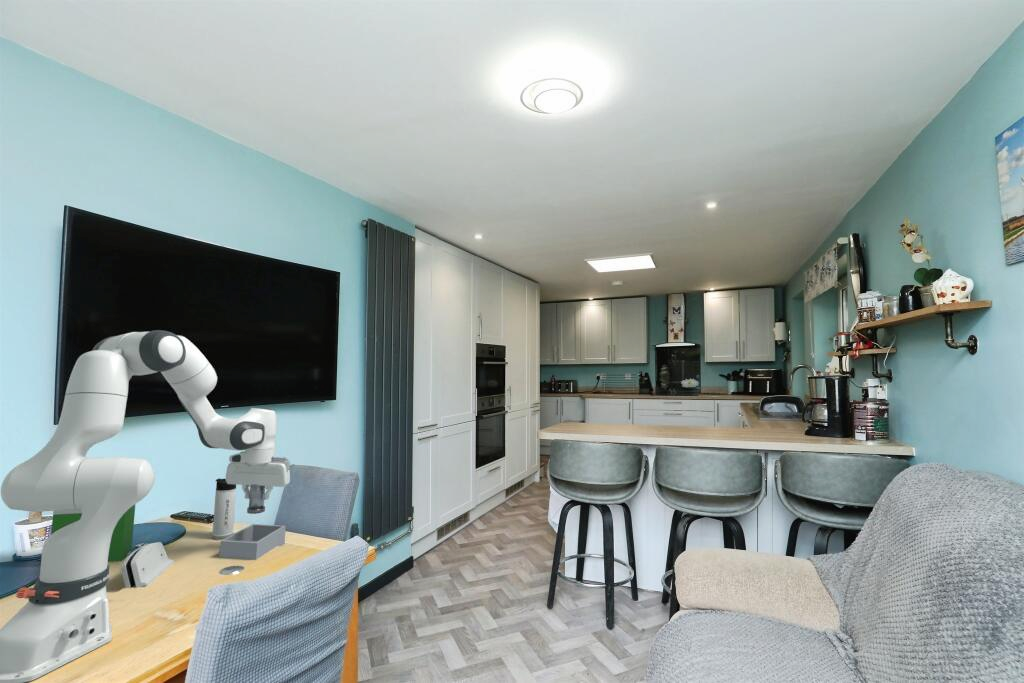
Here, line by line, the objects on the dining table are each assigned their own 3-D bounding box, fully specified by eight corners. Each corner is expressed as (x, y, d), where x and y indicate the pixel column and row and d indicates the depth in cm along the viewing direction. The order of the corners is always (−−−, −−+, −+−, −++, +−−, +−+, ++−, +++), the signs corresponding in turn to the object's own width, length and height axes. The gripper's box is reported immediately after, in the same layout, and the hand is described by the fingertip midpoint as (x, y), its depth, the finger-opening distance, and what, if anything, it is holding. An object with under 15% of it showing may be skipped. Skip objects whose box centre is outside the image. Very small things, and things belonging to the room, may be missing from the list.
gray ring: (235, 579, 136) (235, 575, 136) (213, 577, 136) (213, 574, 136) (248, 569, 142) (249, 566, 142) (228, 568, 142) (228, 565, 142)
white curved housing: (147, 590, 127) (136, 555, 127) (127, 598, 126) (116, 562, 126) (175, 565, 143) (165, 533, 143) (158, 571, 142) (148, 540, 142)
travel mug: (216, 533, 171) (220, 477, 172) (236, 533, 172) (240, 477, 173) (207, 539, 165) (212, 481, 166) (227, 539, 165) (232, 481, 167)
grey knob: (268, 509, 159) (270, 482, 160) (259, 514, 154) (261, 485, 154) (253, 508, 159) (255, 481, 160) (243, 513, 154) (245, 485, 155)
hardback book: (47, 566, 139) (56, 483, 141) (61, 557, 146) (69, 477, 148) (121, 560, 145) (128, 480, 147) (131, 552, 152) (137, 475, 154)
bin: (255, 563, 147) (257, 543, 147) (218, 560, 148) (220, 541, 148) (284, 543, 164) (285, 525, 164) (251, 541, 164) (252, 523, 165)
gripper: (295, 456, 160) (292, 497, 159) (236, 453, 161) (233, 494, 160) (285, 459, 154) (282, 503, 153) (224, 456, 155) (221, 499, 154)
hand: (256, 498), depth 157 cm, fingers closed on grey knob, 4 cm apart
